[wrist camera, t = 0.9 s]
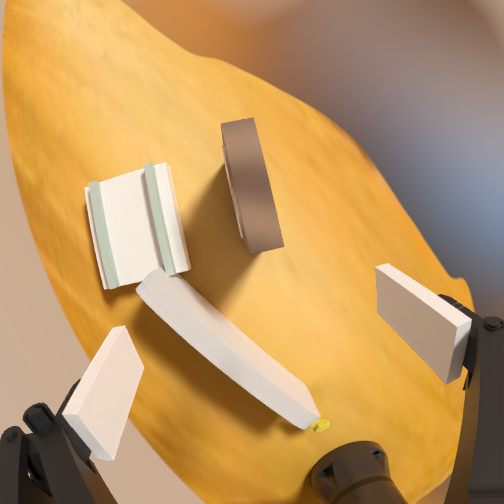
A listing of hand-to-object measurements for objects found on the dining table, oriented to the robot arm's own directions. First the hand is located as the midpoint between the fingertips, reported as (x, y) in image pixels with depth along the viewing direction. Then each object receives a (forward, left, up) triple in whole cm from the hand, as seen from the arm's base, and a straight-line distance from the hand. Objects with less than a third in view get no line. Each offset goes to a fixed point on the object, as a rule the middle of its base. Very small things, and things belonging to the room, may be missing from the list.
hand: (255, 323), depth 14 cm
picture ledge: (+8, +13, -25) cm, 30 cm away
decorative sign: (-12, +2, -26) cm, 29 cm away
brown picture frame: (+8, -2, -25) cm, 27 cm away
